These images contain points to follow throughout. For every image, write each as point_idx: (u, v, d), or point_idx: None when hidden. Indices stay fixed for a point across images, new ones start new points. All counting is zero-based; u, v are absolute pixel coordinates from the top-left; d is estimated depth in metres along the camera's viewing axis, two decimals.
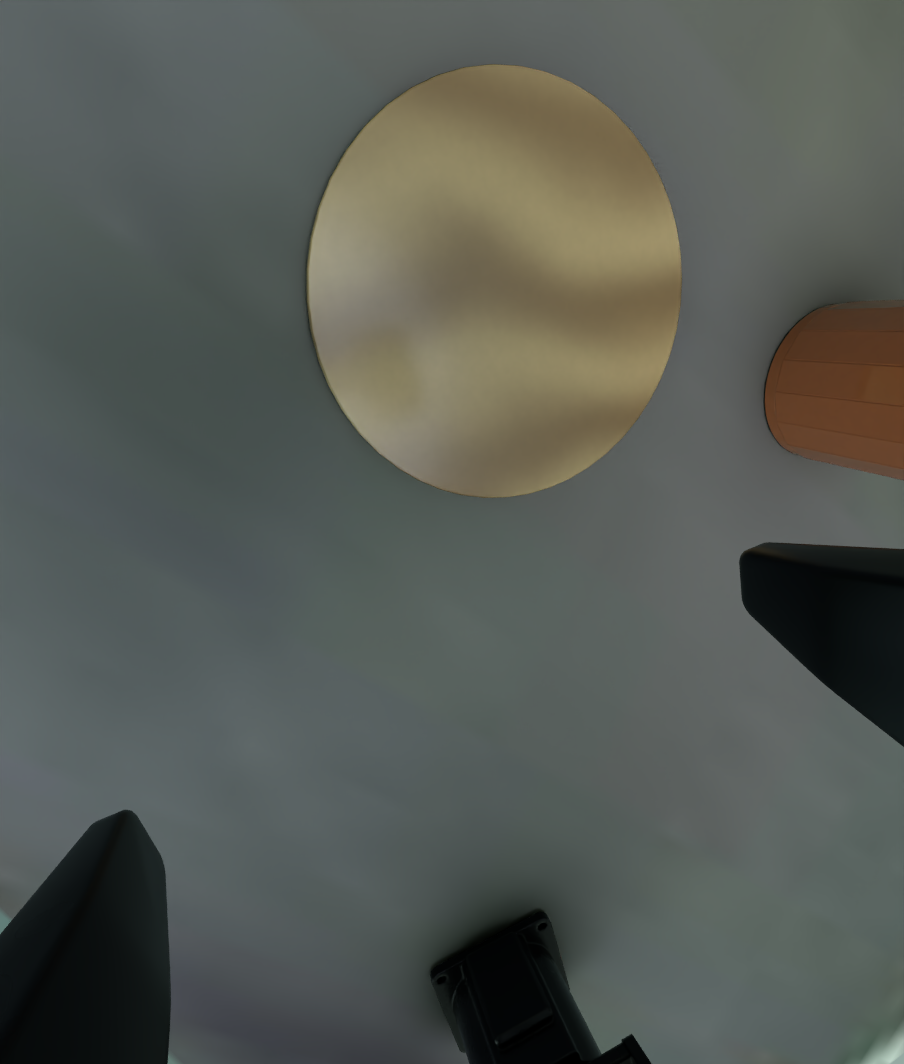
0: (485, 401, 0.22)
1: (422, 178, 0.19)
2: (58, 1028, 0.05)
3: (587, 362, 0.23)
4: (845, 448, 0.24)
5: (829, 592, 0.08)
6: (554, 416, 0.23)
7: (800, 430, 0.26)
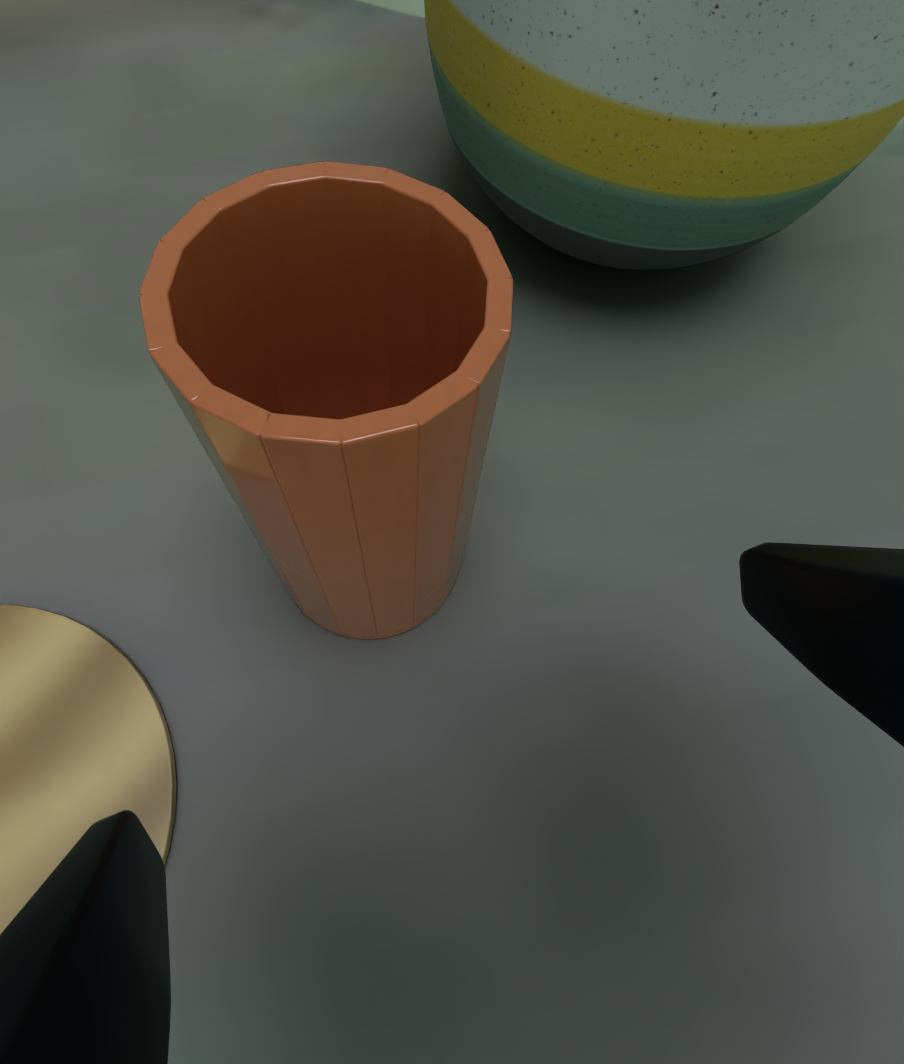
0: None
1: None
2: (58, 1029, 0.05)
3: (60, 796, 0.19)
4: (356, 609, 0.18)
5: (829, 592, 0.08)
6: None
7: (343, 624, 0.20)
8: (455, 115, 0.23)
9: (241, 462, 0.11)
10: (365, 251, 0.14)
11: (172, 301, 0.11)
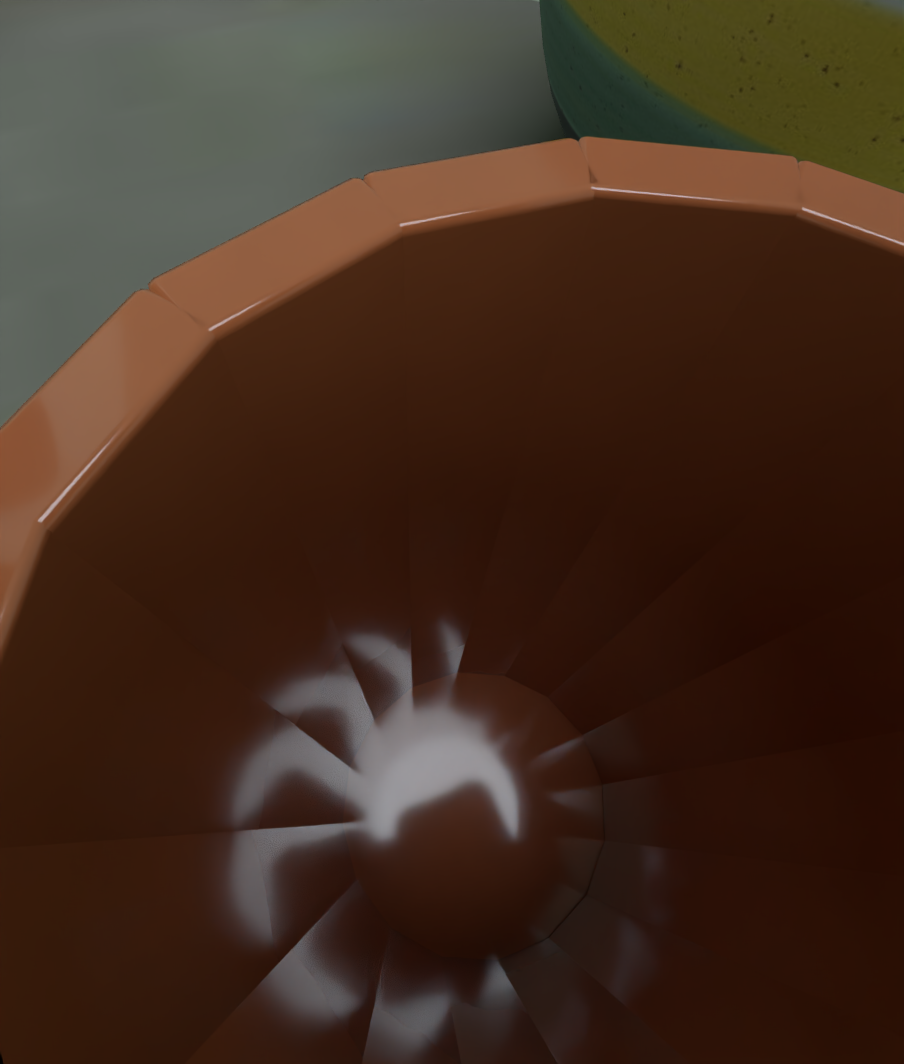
0: None
1: None
2: None
3: None
4: None
5: None
6: None
7: None
8: (594, 92, 0.14)
9: None
10: (625, 396, 0.05)
11: None
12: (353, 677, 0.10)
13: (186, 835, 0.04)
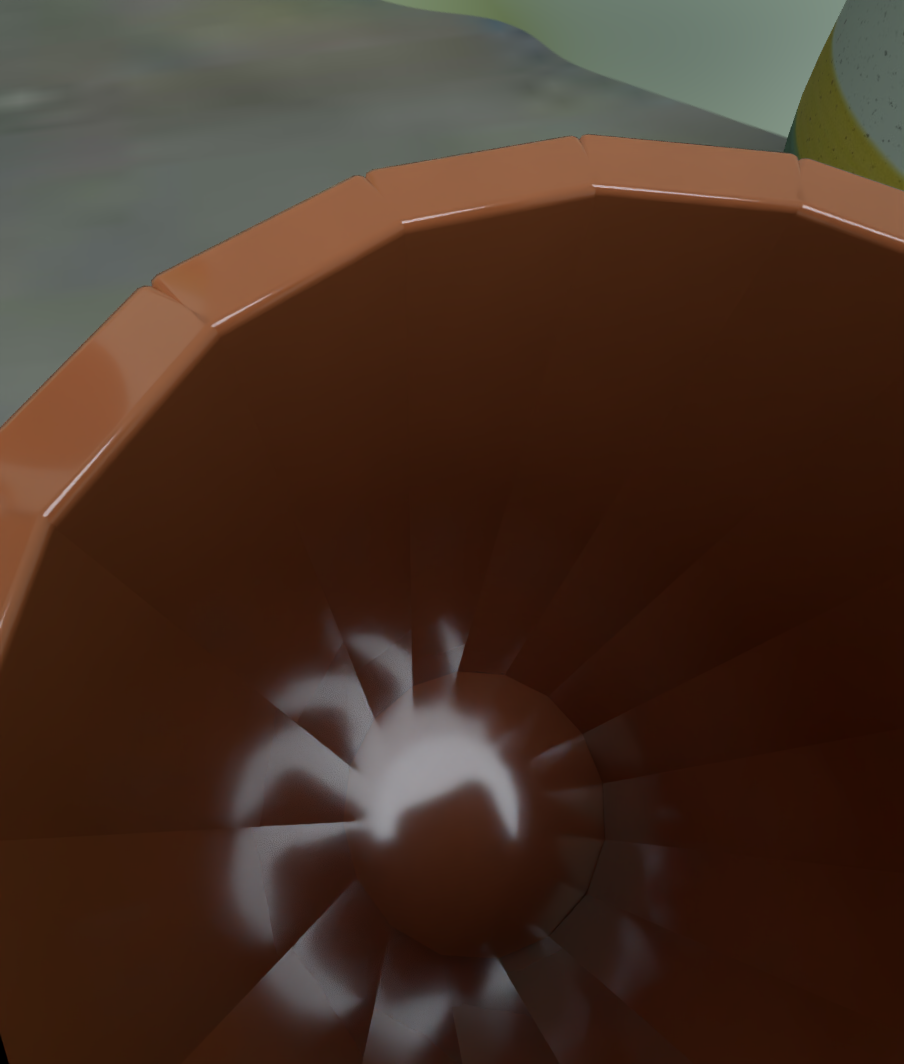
0: None
1: None
2: None
3: None
4: None
5: None
6: None
7: None
8: None
9: None
10: (625, 394, 0.05)
11: None
12: (354, 676, 0.10)
13: (188, 831, 0.04)
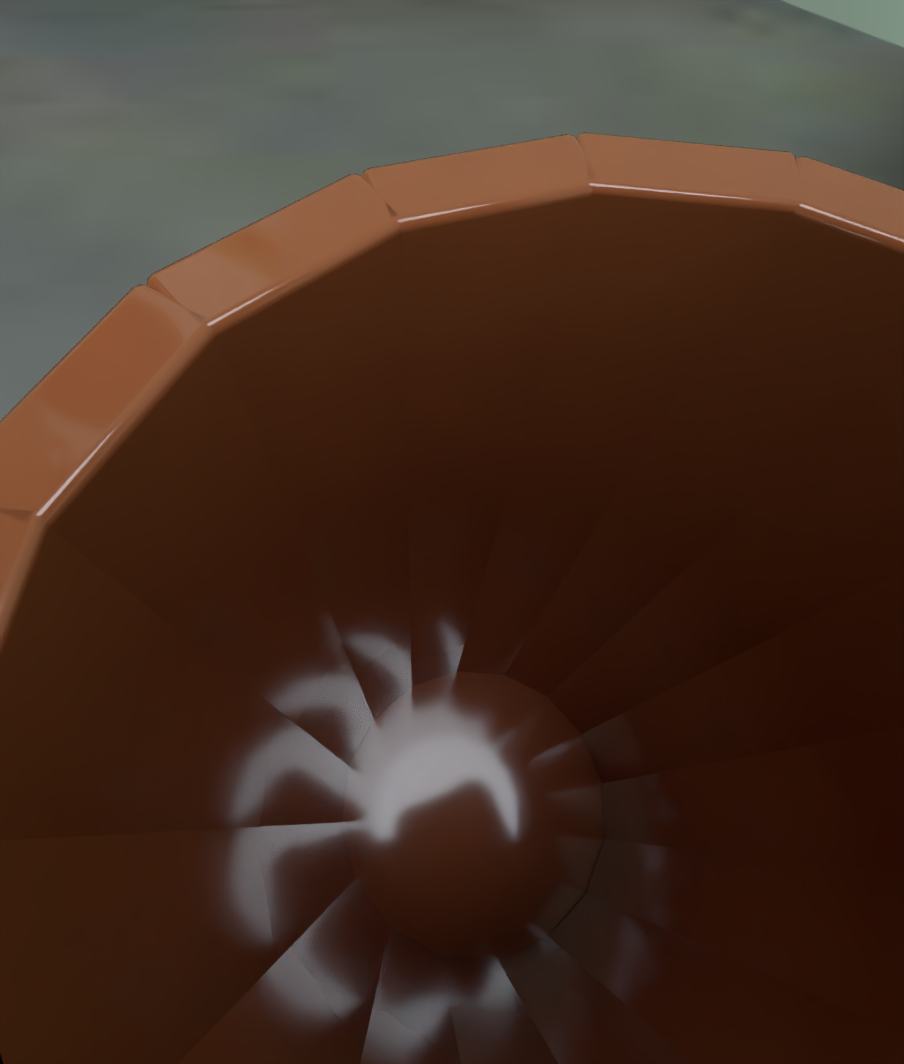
0: None
1: None
2: None
3: None
4: None
5: None
6: None
7: None
8: None
9: None
10: (623, 393, 0.05)
11: None
12: (352, 675, 0.10)
13: (185, 831, 0.04)
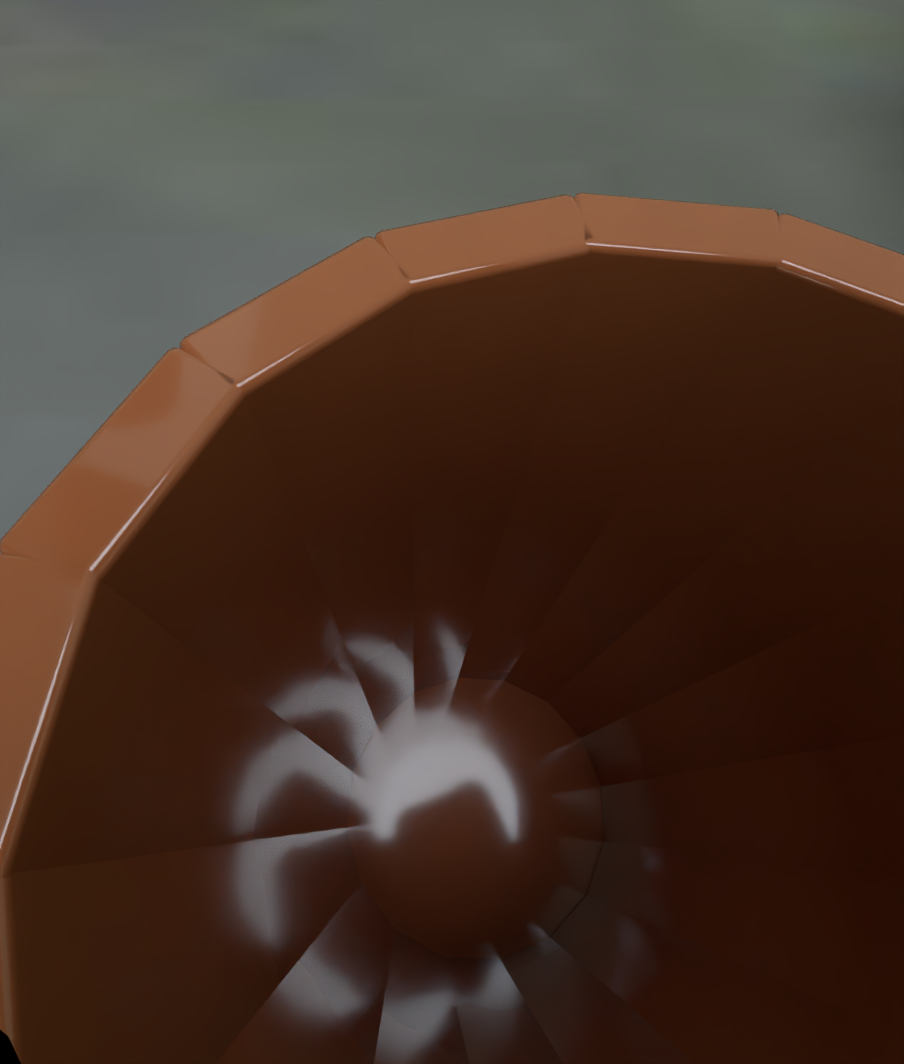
0: None
1: None
2: None
3: None
4: None
5: None
6: None
7: None
8: None
9: None
10: (619, 424, 0.05)
11: (40, 864, 0.02)
12: (358, 686, 0.10)
13: (210, 847, 0.04)
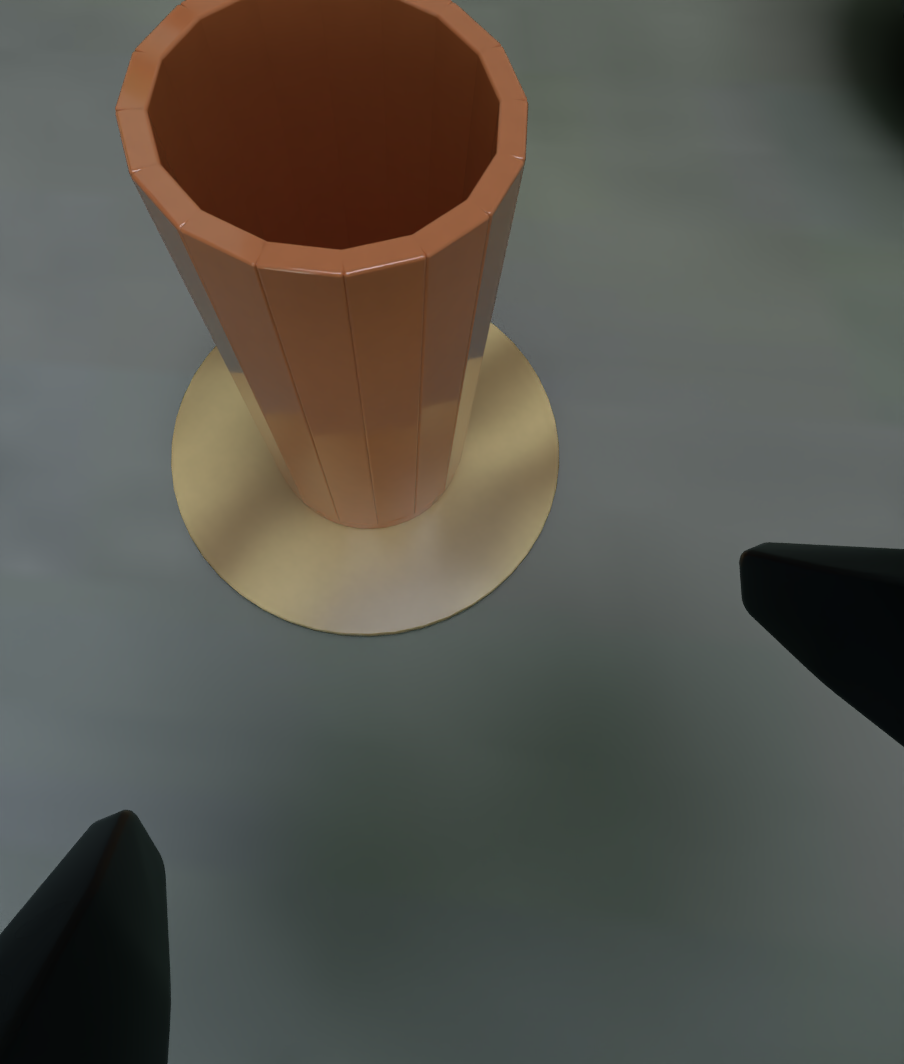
0: (393, 529, 0.22)
1: (243, 402, 0.23)
2: (58, 1028, 0.05)
3: (471, 447, 0.23)
4: (356, 492, 0.18)
5: (829, 592, 0.08)
6: (471, 506, 0.22)
7: (344, 511, 0.20)
8: None
9: (236, 306, 0.11)
10: (362, 82, 0.13)
11: (152, 121, 0.10)
12: None
13: None
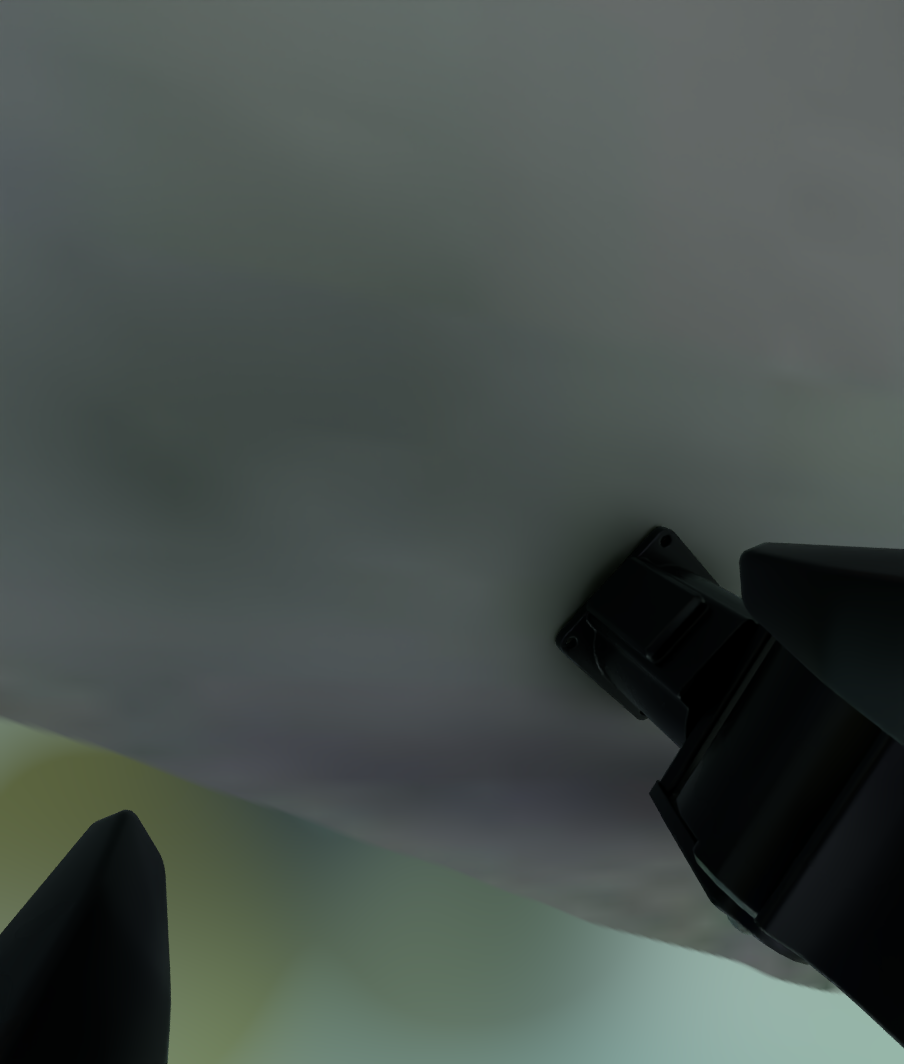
0: None
1: None
2: (58, 1028, 0.05)
3: None
4: None
5: (829, 592, 0.08)
6: None
7: None
8: None
9: None
10: None
11: None
12: None
13: None
